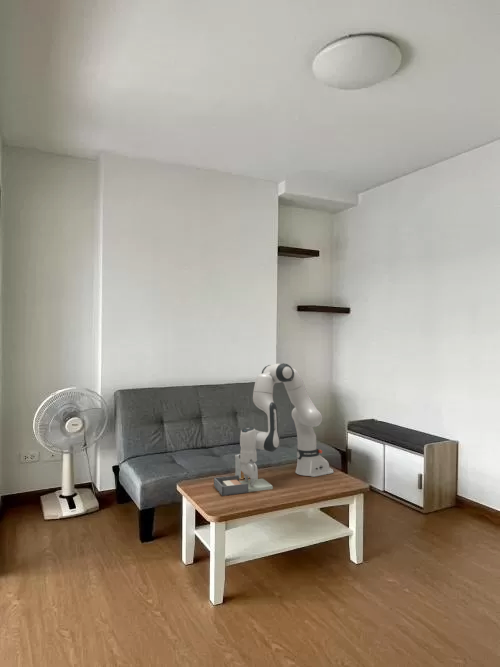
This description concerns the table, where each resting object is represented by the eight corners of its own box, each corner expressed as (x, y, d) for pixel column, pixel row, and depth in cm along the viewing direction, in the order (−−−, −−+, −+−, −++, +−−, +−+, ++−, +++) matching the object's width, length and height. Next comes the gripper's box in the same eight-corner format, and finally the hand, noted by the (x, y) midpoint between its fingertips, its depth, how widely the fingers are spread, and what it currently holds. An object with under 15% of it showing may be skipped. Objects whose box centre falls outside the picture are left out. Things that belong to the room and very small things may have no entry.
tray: (238, 483, 260) (238, 475, 260) (248, 492, 243) (248, 483, 243) (213, 486, 255) (213, 477, 255) (222, 496, 239) (222, 486, 239)
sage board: (263, 481, 263) (262, 478, 263) (272, 489, 249) (272, 485, 249) (239, 484, 258) (239, 481, 258) (247, 492, 244) (247, 488, 244)
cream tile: (229, 484, 255) (229, 480, 255) (236, 491, 244) (236, 486, 244) (222, 485, 254) (222, 481, 254) (228, 492, 243) (228, 487, 243)
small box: (241, 479, 267) (240, 456, 267) (235, 477, 272) (234, 454, 272) (252, 477, 271) (252, 454, 271) (246, 474, 276) (246, 452, 277)
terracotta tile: (236, 484, 256) (236, 479, 256) (243, 490, 245) (243, 485, 245) (229, 484, 255) (229, 480, 255) (236, 491, 244) (236, 486, 244)
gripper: (260, 461, 244) (261, 488, 244) (248, 453, 263) (249, 477, 263) (248, 463, 242) (249, 489, 242) (237, 454, 261) (238, 479, 261)
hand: (249, 483), depth 253 cm, fingers open, 8 cm apart
